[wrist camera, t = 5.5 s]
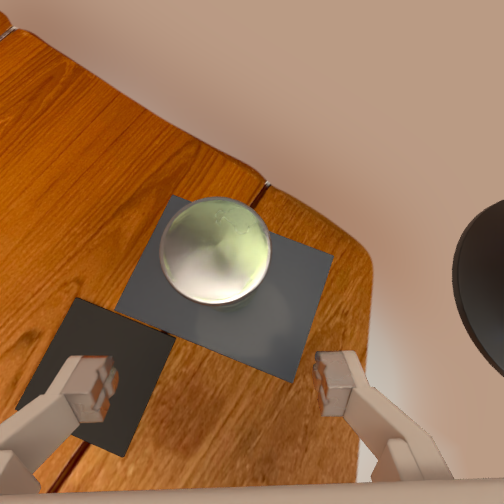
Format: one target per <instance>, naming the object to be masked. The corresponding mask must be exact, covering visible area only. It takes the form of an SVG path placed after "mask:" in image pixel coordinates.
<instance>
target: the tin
mask: <svg viewBox="0 0 504 504" xmlns="http://www.w3.org/2000/svg"><path fill="white" fill-rule="evenodd" d="M159 258H160V264H161V268H162V271H163V273H164V275H165V277H166V279H167V281H168V282H169V284H170V285H171V286H172V287H173V288H174V289H175V290H176V291H177V292H178V293H179V294H180V295H182V296H183V297H185V298H186V299H188V300H191V301H193V302H195V303H198V304H201V305H205V306H208V307H210V308H212V309H214V310H216V311H219V312H224V313H230V312H236V311H238V310H241V309H243V308H244V307H246V306H247V305H248V304H249V303H250V302H251V301H252V299H253V298H254V296H255V294H256V292H257V289H258V287H259V286H260V284H261V283H262V281H263V280H264V278H265V276H266V274H267V272H268V270H269V267H270V264H271V259H272V241H271V237H270V233H269V231H268V228H267V226H266V224H265V223H264V221H263V220H262V218H261V217H260V216H259V215H258V214H257V213H256V212H255V211H254V210H253V209H252V208H250V207H249V206H247V205H246V204H244V203H242V202H240V201H238V200H235V199H231V198H226V197H207V198H202V199H199V200H196V201H194V202H192V203H189V204H188V205H186V206H184V207H183V208H182V209H180V210H179V211H178V212H177V213H176V214H175V215H174V216H173V217H172V218H171V220H170V221H169V222H168V224H167V226H166V227H165V229H164V232H163V234H162V237H161V241H160V247H159Z"/></svg>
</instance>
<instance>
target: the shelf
mask: <svg viewBox="0 0 504 504" xmlns="http://www.w3.org/2000/svg"><path fill="white" fill-rule="evenodd" d="M189 203H192V202H191V201H188V200H185V199H183V198H180V197H177V196H175V195H172V196H171V198H170V200H169V202H168V204H167V206H166V208H165V210H164V212H163V214H162V216H161V218H160V220H159V222H158V224H157V226H156V228H155V230H154V232H153V234H152V236H151V238H150V240H149V242H148V244H147V246H146V248H145V250H144V252H143V254H142V256H141V258H140V260H139V262H138V264H137V266H136V268H135V270H134V272H133V273H132V275H131V277H130V279H129V281H128V283H127V285H126V287H125V289H124V291H123V293H122V295H121V297H120V299H119V301H118V303H117V305H116V307H115V309H114V310H115V311H117V312H120V313H122V314H125V315H127V316H130V317H132V318H134V319H137V320H139V321H142V322H144V323H147V324H149V325H151V326H154V327H156V328H159V329H161V330H164V331H166V332H168V333H171V334H173V335H176V336H178V337H181V338H183V339H185V340H188V341H190V342H193V343H195V344H198V345H200V346H202V347H205V348H207V349H210V350H212V351H215V352H217V353H219V354H222V355H224V356H227V357H229V358H232V359H234V360H236V361H239V362H241V363H244V364H246V365H249V366H251V367H253V368H256V369H258V370H261V371H263V372H266V373H268V374H270V375H273V376H275V377H278V378H280V379H283V380H285V381H287V382H290V383H293V380H294V377H295V374H296V371H297V368H298V365H299V362H300V359H301V356H302V353H303V350H304V346H305V343H306V340H307V337H308V334H309V331H310V328H311V325H312V322H313V319H314V316H315V313H316V310H317V306H318V303H319V300H320V297H321V294H322V291H323V288H324V285H325V282H326V279H327V276H328V273H329V270H330V266H331V263H332V260H333V257H334V256H333V255H330V254H328V253H325V252H322V251H320V250H317V249H314V248H312V247H309V246H307V245H304V244H301V243H299V242H296V241H293V240H291V239H288V238H285V237H283V236H280V235H278V234H275V233H272V232H270V231H269V233H270V237H271V241H272V259H271V264H270V267H269V270H268V272H267V274H266V276H265V278H264V280H263V281H262V283H261V284H260V286H259V287H258V289H257V292H256V294H255V296H254V298H253V299H252V301H251V302H250V303H249V304H248V305H247V306H246V307H244V308H243V309H241V310H238V311H236V312H230V313H224V312H219V311H216V310H214V309H212V308H210V307H208V306H205V305H201V304H198V303H195V302H193V301H191V300H188V299H186V298H185V297H183V296H182V295H180V294H179V293H178V292H177V291H176V290H175V289H174V288H173V287H172V286H171V285H170V284H169V282H168V281H167V279H166V277H165V275H164V273H163V271H162V268H161V264H160V258H159V247H160V241H161V237H162V234H163V232H164V229H165V227H166V226H167V224H168V222H169V221H170V220H171V218H172V217H173V216H174V215H175V214H176V213H177V212H178V211H179V210H180V209H182V208H183V207H184V206H186V205H188V204H189Z"/></svg>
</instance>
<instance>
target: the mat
mask: <svg viewBox="0 0 504 504" xmlns="http://www.w3.org/2000/svg"><path fill="white" fill-rule="evenodd" d="M175 339H176V338H174V337H172V336H170V335H167V334H165V333H162V332H160V331H158V330H155V329H153V328H150V327H148V326H145V325H143V324H141V323H138V322H136V321H133V320H131V319H128V318H126V317H124V316H121V315H119V314H116V313H114V312H111V311H109V310H107V309H104V308H102V307H99V306H97V305H94V304H92V303H90V302H87V301H85V300H82V299H80V298H77V297H76V298H75V300H74V302H73V304H72V305H71V307H70V309H69V311H68V313H67V315H66V316H65V318H64V320H63V322H62V324H61V326H60V328H59V329H58V331H57V333H56V335H55V337H54V339H53V340H52V342H51V344H50V346H49V348H48V350H47V351H46V353H45V355H44V357H43V359H42V361H41V362H40V364H39V366H38V368H37V370H36V372H35V373H34V375H33V377H32V379H31V381H30V383H29V384H28V386H27V388H26V390H25V392H24V394H23V395H22V397H21V399H20V401H19V403H18V405H17V407H16V408H15V410H17V411H19V410H20V409H22V408H23V407H24V406H26V405H27V404H29V403H30V402H31V401H33V400H34V399H35V398H37V397H38V396H39V395H45V393H46V391H47V390H48V388H49V387H50V385H51V384H52V382H53V380H54V379H55V377H56V376H57V374H58V373H59V371H60V369H61V368H62V366H63V365H64V363H65V361H66V360H67V359H68V358H69V357H70V356H112V357H113V359H114V363H113V366H114V367H115V368H117V370H118V374H119V380H118V386H117V389H116V391H115V394H114V395H113V396H111V397H110V398H109V399H108V400H109V403H110V406H109V409H108V411H107V414H106V416H105V418H104V421H103V422H95V423H79V424H80V425H79V426H78V427H77V428H76V429H75V430H74V431H73V432H72V433H71V435H73V436H75V437H78V438H80V439H82V440H84V441H87V442H89V443H91V444H93V445H96V446H98V447H100V448H102V449H105V450H107V451H109V452H111V453H114V454H116V455H118V456H120V457H124V456H125V453H126V451H127V449H128V447H129V444H130V442H131V440H132V437H133V435H134V433H135V431H136V428H137V426H138V424H139V422H140V419H141V417H142V415H143V412H144V410H145V408H146V406H147V403H148V401H149V399H150V396H151V394H152V392H153V390H154V387H155V385H156V383H157V380H158V378H159V376H160V374H161V371H162V369H163V367H164V365H165V362H166V360H167V358H168V355H169V353H170V351H171V349H172V346H173V344H174V342H175Z"/></svg>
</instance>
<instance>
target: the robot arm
mask: <svg viewBox="0 0 504 504" xmlns="http://www.w3.org/2000/svg"><path fill="white" fill-rule="evenodd" d="M315 360H316V363H315V364H314V365H313V383H314V387H315V390H316V391H317V392H318V393H319V395H318V404H319V408H320V412H321V416H344V417H343V418H344V419H345V420H346V421H347V423H348V424H349V425H350V426H351V428H352V429H353V430H354V431H355V432H356V434H357V435H358V436H359V437H360V438H361V440H362V441H363V442H364V443H365V444H366V446H367V447H368V448H369V449H370V451H371V452H372V453H373V454H374V455H375V457H376V458H377V459H378V462H377V464H376V466H375V468H374V470H373V472H372V475H371V479H372V482H369V483H368V482H367V483H338V484H308V485H279V486H249V487H220V488H191V489H161V490H132V491H104V492H75V493H46V494H38V493H39V491H40V489H41V486H40V483H39V482H38V481H37V479H36V478H35V477H34V476H33V475H32V474H33V473H34V472H35V471H36V470H37V469H38V468H39V467H40V466H41V465H42V464H43V463H44V461H45V460H46V459H47V458H48V457H49V456H50V455H51V454H52V453H53V452H54V451H55V450H56V449H57V448H58V447H59V446H60V445H61V444H62V443H63V442H64V441H65V440H66V439H67V438H68V437H69V436H70V434H71V433H72V432H73V431H74V430H75V429H76V428H77V427H78V426H79V425H80V424H79V423H95V422H103V421H104V418H105V416H106V414H107V411H108V409H109V406H110V403H109V400H108V399H109V398H110V397H111V396H113V395H114V394H115V391H116V389H117V386H118V380H119V374H118V370H117V368H115V367H114V366H113V363H114V359H113V357H112V356H70V357H69V358H68V359H67V360H66V361H65V363H64V365H63V366H62V368H61V369H60V371H59V373H58V374H57V376H56V377H55V379H54V380H53V382H52V384H51V385H50V387H49V388H48V390H47V391H46V393H45V395H39V396H38V397H37V398H35V399H34V400H33V401H31V402H30V403H29V404H27V405H26V406H24V407H23V408H22V409H20V410H19V411H18V412H16V413H15V414H14V415H12V416H11V417H9V418H8V419H7V420H5V421H4V422H3V423H1V424H0V504H504V478H485V479H484V478H483V479H454V477H453V476H452V474H451V472H450V470H449V468H448V466H447V464H446V462H445V461H444V459H443V457H442V455H441V453H440V451H439V449H438V448H437V446H436V444H435V442H434V440H433V438H432V437H431V436H430V435H429V434H428V433H427V432H426V431H425V430H423V429H422V428H421V427H420V426H419V425H417V424H416V423H415V422H414V421H413V420H412V419H411V418H409V417H408V416H407V415H406V414H405V413H404V412H402V411H401V410H400V409H399V408H398V407H397V406H396V405H394V404H393V403H392V402H391V401H390V400H389V399H387V398H386V397H385V396H384V395H383V394H381V393H380V392H379V391H378V390H377V389H376V388H375V387H370V385H369V383H368V380H367V378H366V375H365V373H364V371H363V368H362V366H361V364H360V362H359V359H358V357H357V355H356V353H355V352H354V351H317V352H316V354H315Z"/></svg>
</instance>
